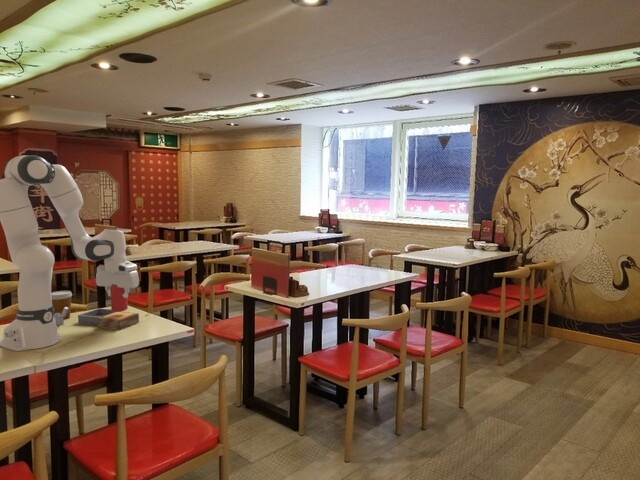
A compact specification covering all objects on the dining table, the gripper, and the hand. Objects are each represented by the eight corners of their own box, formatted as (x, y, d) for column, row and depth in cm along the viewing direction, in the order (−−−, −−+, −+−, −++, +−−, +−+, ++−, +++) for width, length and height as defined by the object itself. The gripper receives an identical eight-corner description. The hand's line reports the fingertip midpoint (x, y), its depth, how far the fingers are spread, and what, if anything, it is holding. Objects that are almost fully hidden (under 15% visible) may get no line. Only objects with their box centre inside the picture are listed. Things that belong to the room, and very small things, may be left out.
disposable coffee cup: (54, 316, 224) (52, 291, 222) (76, 315, 225) (75, 290, 224) (47, 322, 214) (45, 295, 213) (70, 320, 216) (68, 294, 215)
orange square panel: (102, 319, 207) (102, 317, 206) (117, 314, 215) (117, 311, 215) (119, 321, 204) (119, 319, 204) (134, 316, 212) (134, 313, 212)
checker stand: (98, 327, 206) (97, 318, 206) (117, 320, 217) (117, 311, 217) (120, 329, 202) (120, 320, 202) (139, 322, 213) (138, 313, 213)
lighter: (52, 325, 209) (51, 307, 209) (55, 324, 211) (54, 306, 210) (67, 325, 209) (66, 307, 208) (70, 324, 210) (68, 306, 209)
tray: (78, 322, 213) (77, 315, 212) (99, 315, 225) (99, 308, 224) (101, 325, 209) (100, 317, 208) (121, 317, 221) (121, 310, 220)
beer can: (122, 312, 206) (120, 285, 204) (108, 311, 207) (106, 284, 206) (130, 308, 212) (129, 281, 211) (117, 307, 213) (115, 281, 212)
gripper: (91, 265, 207) (93, 297, 209) (130, 268, 201) (132, 300, 202) (102, 263, 213) (104, 293, 215) (140, 265, 207) (142, 296, 208)
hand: (118, 297), depth 209 cm, fingers closed on beer can, 6 cm apart
